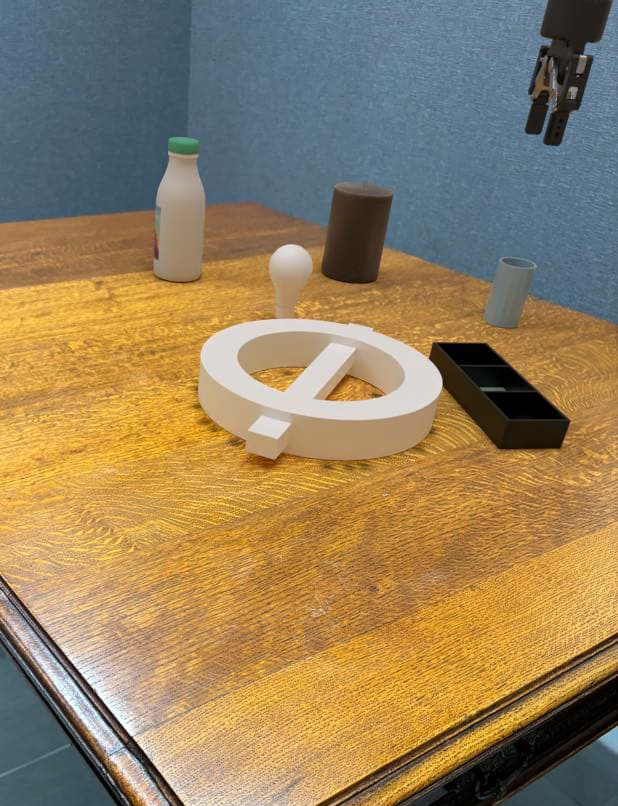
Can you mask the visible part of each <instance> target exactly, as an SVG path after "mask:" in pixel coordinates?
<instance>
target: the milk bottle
mask: <svg viewBox="0 0 618 806" xmlns="http://www.w3.org/2000/svg"><path fill="white" fill-rule="evenodd" d="M167 149H168V150H167V155H168V157H169V158H168V163H167V167H166V170H165V172H164V174H163V177H162V179H161V181H160V184H159V186H158V189H157V193H156V199H155V214H154V235H153V236H154V238H153V263H152V264H153V265H152V267H153V273H154V276H156V277H157V278H159V279H162V280H165V281H168V282H169V281H170V282H176V283H177V282H178V283H179V282H181V283H182V282H183V283H184V282H185V283H187V282H192V281H193V282H194V281H196V280H198V279H199V278H200V277H201V274H202V265H203V253H204V252H203V251H204V236H205V224H206V223H205V222H206V221H205V220H206V195H205V190H204V185H203V183H202V179H201V177H200V173H199V168H198V162H197V161H198V158H199V156H200V155H199V152H200V141H199V140H198V139H196V138H192V137H187V136H186V137H185V136H172V137H169V138H168V142H167Z"/></svg>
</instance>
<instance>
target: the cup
mask: <svg viewBox="0 0 618 806" xmlns="http://www.w3.org/2000/svg"><path fill="white" fill-rule="evenodd" d="M537 268H538V266H537V264H536V263H535V262H533V261H531V260H528V259H525V258H522V257H515V256H504V257H500V258H499V259H498V261H497V265H496V269H495V273H494V275H493V280H492V283H491V287H490V291H489V294H488V297H487V301H486V304H485V308H484V312H483V316H482V320H483V321H484V322H485V323H487V324H488V325H491V326H493V327H498V328H503V329H515V328H517V327H519V325H520V322H521V320H522V317H523V313H524V310H525V307H526V303H527V300H528V298H529V294H530V291H531V287H532V284H533V281H534V278H535V275H536V272H537Z"/></svg>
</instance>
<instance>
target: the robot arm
mask: <svg viewBox="0 0 618 806" xmlns="http://www.w3.org/2000/svg"><path fill="white" fill-rule="evenodd" d="M613 3H614V0H547V3H546V7H545V11H544V15H543V19H542V23H541V26H540V29H539V36H541V37H542V38H544V39H549V40H552V41H551V42H550V44H541V45H540V48H539V51H538V55H537V58H536V62H535V66H534V70H533V72H532V77H531V80H530V84H529V86H528V90H527V95H528V96H530V102H531V105H530V108H529V112H528V116H527V119H526V123H525V127H524V132H525V134H527V135H533V136H540V135H541V134H542V132H543V130H544V125H545V122H546V118H547V114H548V112H549V109H550V108H549V107H550V105H549V104H550V103H551V112H550V113H549V117H548V121H547V123H546V124H547V125H546V128H545V132H544V135H543V139H542V143H543V144H544V145H545V146H550V147H559V146H560V145H561V144H562V142H563V138H564V135H565V132H566V129H567V125H568V122H569V118H570V115H572V114H573V113H574V111H579V110H580V108H581V106H582V101H583V98H584V94H585V90H586V87H587V84H588V80H589V77H590V73H591V69H592V65H593V63H594V55H593V54H585V49H586V45H587V44H588V43H589V44H597V43H600V42H601V40H602V39H603V36H604V33H605V29H606V26H607V22H608V19H609V16H610V13H611V9H612V6H613Z"/></svg>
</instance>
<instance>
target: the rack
mask: <svg viewBox="0 0 618 806" xmlns="http://www.w3.org/2000/svg"><path fill="white" fill-rule="evenodd" d="M428 359H429V360H430V361H431V362H432V363H433V364H434V365H435V366H436V368H437V369H438V371H439V372H440V374H441V377H442V383H443V384H442V387H444V388H445V389H446V390H447V392H448V393H449V394H450V395H451V396H452V397H453V399H454V400H455V401H456V402H457V403H458V405H460V406H461V408H462V409H463V410H464V411H465V412H466V413H467V415H468V416H469V417H470V418H471V419H472V420H473V421H474V422H475V424H476V425H477V426H478V427H479V428H480V429H481V431H483V432H484V433H485V435H486V436H487V437H488V438H489V439H490V440H491V442H492V443H493V444H494V445H495V446H496V447H497V449H498V450H501V449H502V450H518V449H519V450H520V449H521V450H522V449H527V450H528V449H529V450H530V449H561V448H562V445H563V443H564V441H565V437H566V435H567V433H568V430H569V428H570V424H571V422H572V420H571V419H570V418H569V417H567V415H566V414H564V412H562V411H561V409H559V408H558V407H557V406H555V404H554V403H552V401H550V400H549V399H548V398H547V397H546V396H545V395H544V394H542V392H541V391H540V390H538V389H537V387H535V386H534V385H533V384H532V383H531V382H529V380H528V379H526V378H525V377H524V375H522V374H521V373H520V372H519V370H517V369H516V368H515V367H514V366H513V365H511V364H510V362H509V361H507V360H506V359H505V358H504V357H503V356H502V355H501V354H499V352H497V351H496V350H495V349H494V348H493V347H492V346H491V345H490V344H489V343H487V342H466V341H465V342H462V341H461V342H459V341H458V342H456V341H454V342H453V341H445V342H444V341H432V343H431V348H430V353H429V356H428Z"/></svg>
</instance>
